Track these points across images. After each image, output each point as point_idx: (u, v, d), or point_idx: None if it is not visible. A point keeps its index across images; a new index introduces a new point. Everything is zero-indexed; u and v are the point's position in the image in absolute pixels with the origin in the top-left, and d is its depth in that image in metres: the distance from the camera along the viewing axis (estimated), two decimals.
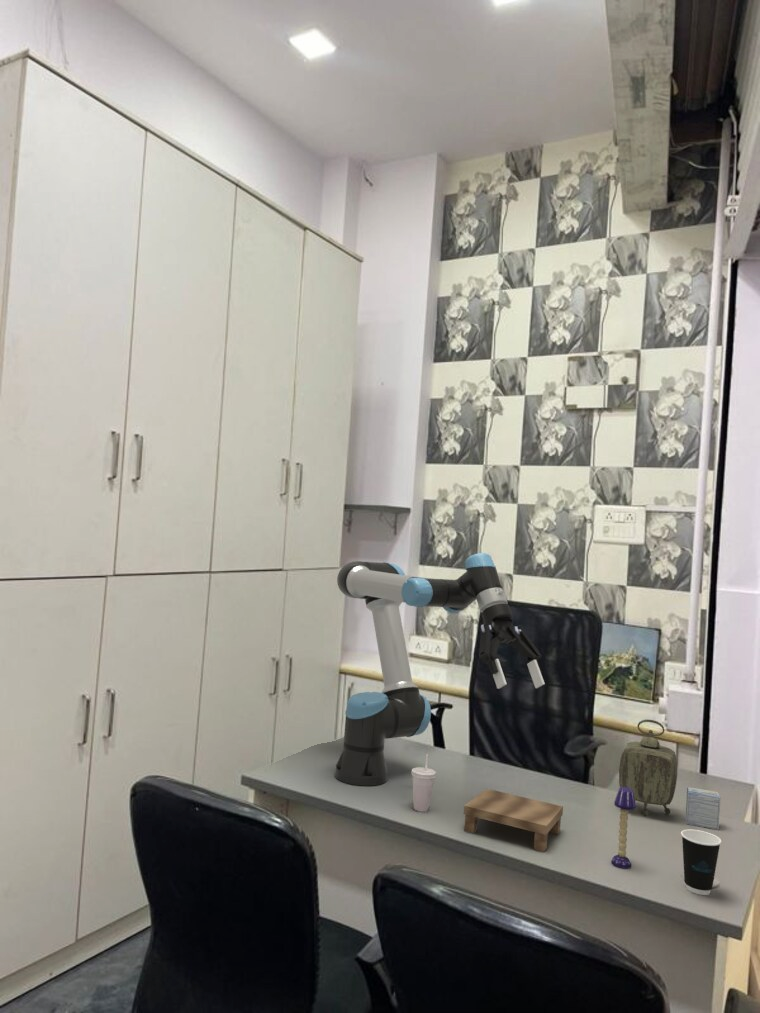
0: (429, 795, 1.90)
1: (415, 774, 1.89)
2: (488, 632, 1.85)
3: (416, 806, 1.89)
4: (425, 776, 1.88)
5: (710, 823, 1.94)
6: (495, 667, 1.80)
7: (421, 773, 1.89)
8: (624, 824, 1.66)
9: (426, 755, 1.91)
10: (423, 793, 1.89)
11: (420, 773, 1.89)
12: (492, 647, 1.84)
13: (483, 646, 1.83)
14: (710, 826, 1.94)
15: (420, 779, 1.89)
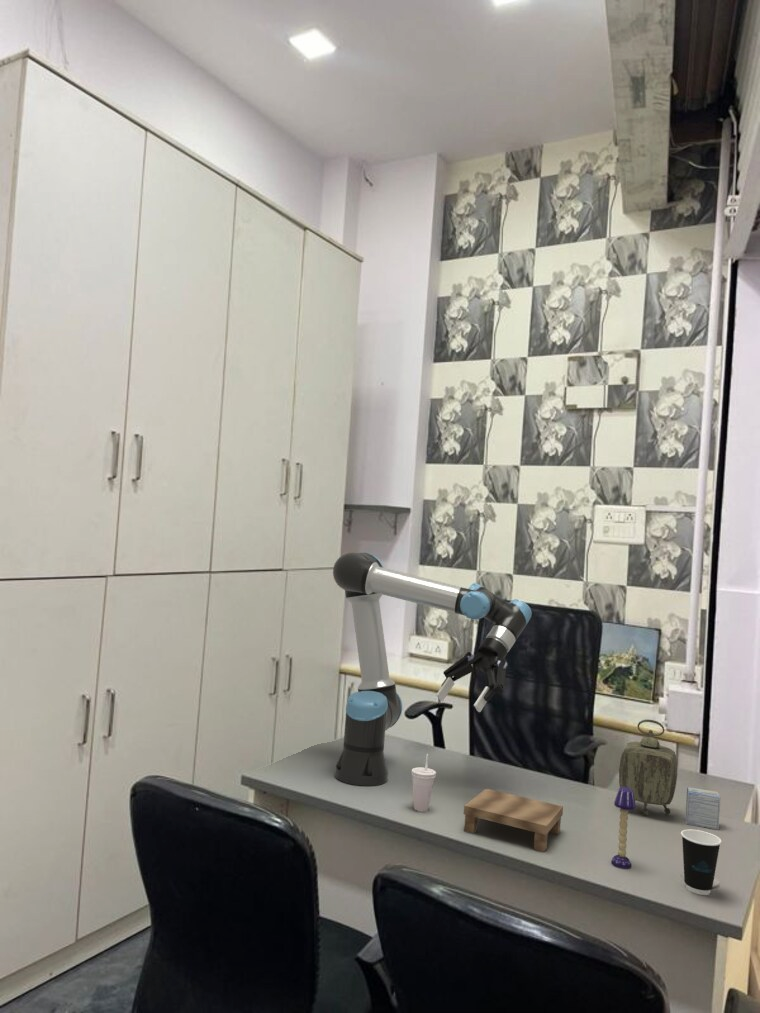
0: (429, 795, 1.90)
1: (415, 774, 1.89)
2: None
3: (416, 806, 1.89)
4: (425, 776, 1.88)
5: (710, 822, 1.94)
6: None
7: (421, 773, 1.89)
8: (624, 824, 1.66)
9: (426, 755, 1.91)
10: (423, 793, 1.89)
11: (420, 773, 1.89)
12: (494, 680, 2.01)
13: (502, 681, 1.99)
14: (710, 826, 1.94)
15: (420, 779, 1.89)
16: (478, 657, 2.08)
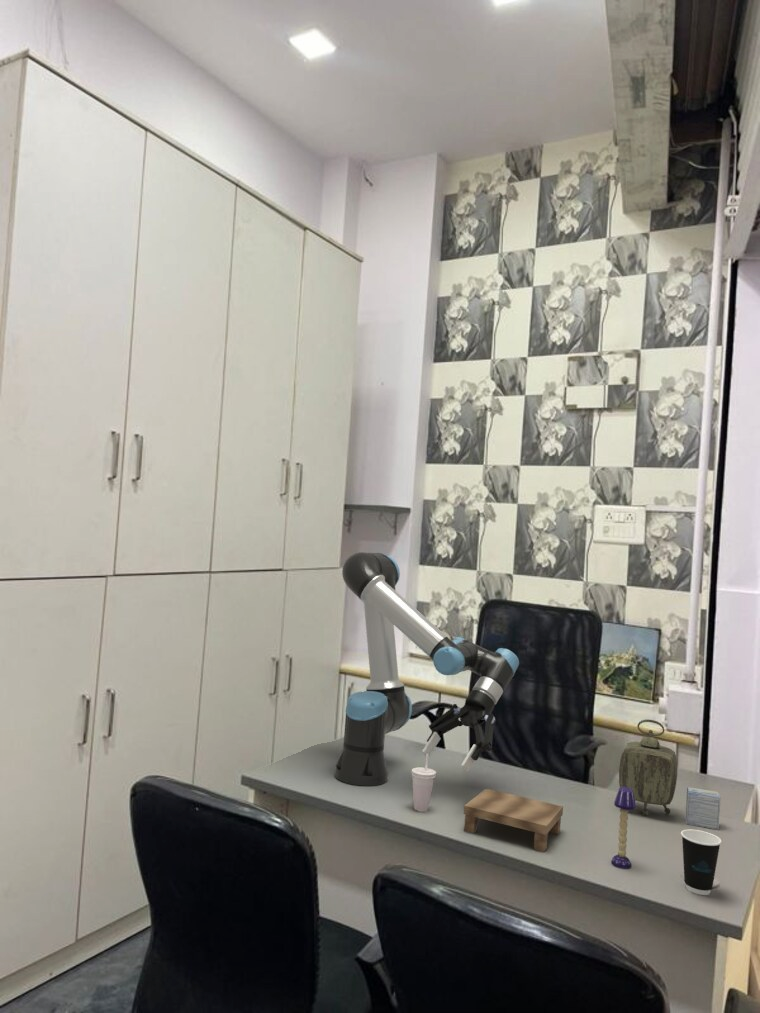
0: (429, 795, 1.90)
1: (415, 774, 1.89)
2: None
3: (416, 806, 1.89)
4: (425, 776, 1.88)
5: (710, 823, 1.94)
6: None
7: (421, 773, 1.89)
8: (624, 824, 1.66)
9: (426, 755, 1.91)
10: (423, 793, 1.89)
11: (420, 773, 1.89)
12: (482, 737, 1.95)
13: (490, 738, 1.93)
14: (710, 826, 1.94)
15: (420, 779, 1.89)
16: (465, 711, 2.02)
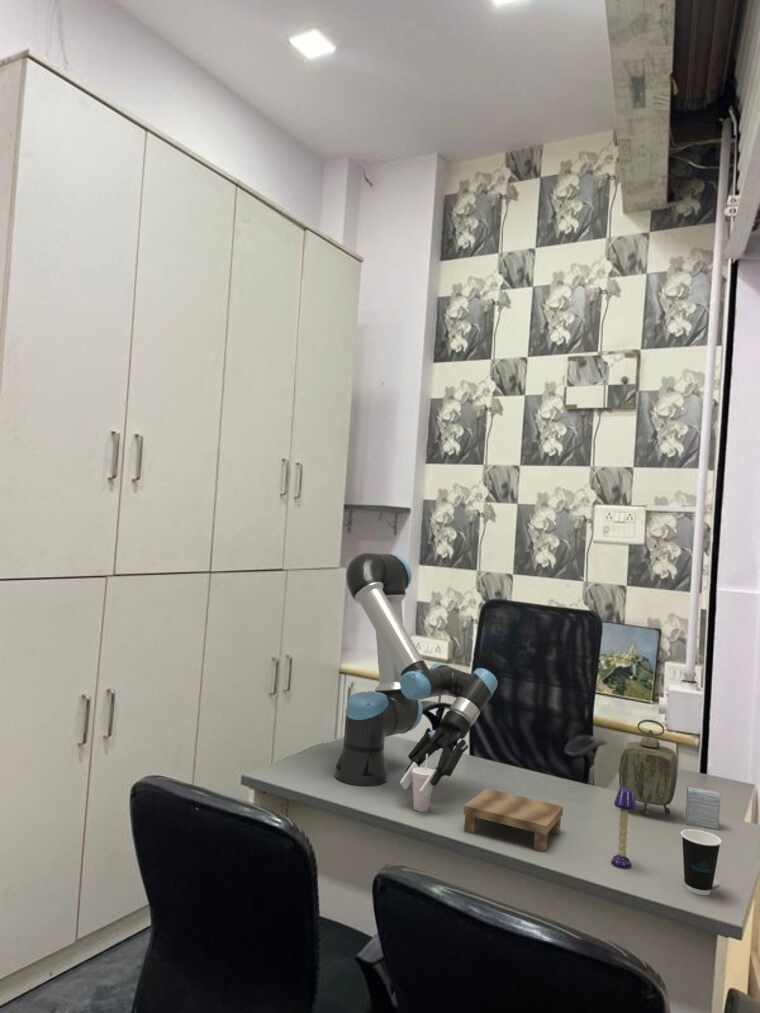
0: (429, 795, 1.90)
1: (415, 774, 1.89)
2: None
3: (416, 806, 1.89)
4: (425, 776, 1.88)
5: (710, 823, 1.94)
6: None
7: (421, 773, 1.89)
8: (624, 824, 1.66)
9: (426, 755, 1.91)
10: None
11: (420, 773, 1.89)
12: (446, 762, 1.91)
13: (453, 765, 1.89)
14: (710, 826, 1.94)
15: (420, 779, 1.89)
16: (440, 732, 1.97)
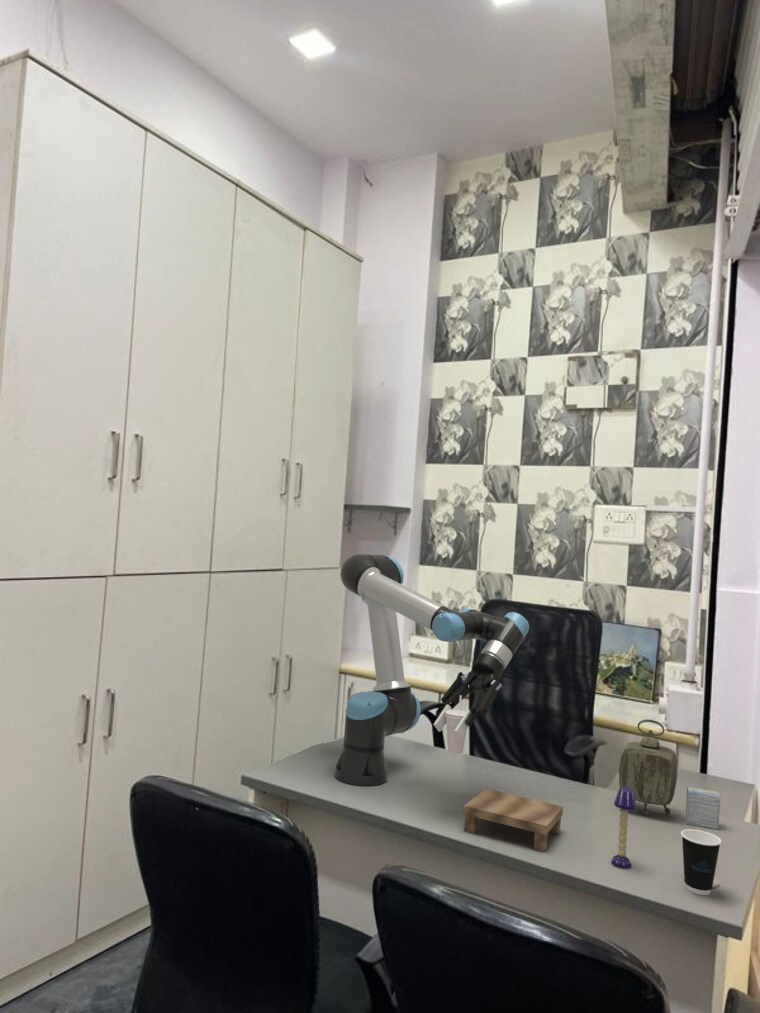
0: (464, 736, 1.86)
1: (449, 715, 1.86)
2: None
3: (450, 747, 1.86)
4: (459, 716, 1.85)
5: (710, 822, 1.94)
6: None
7: (455, 714, 1.86)
8: (624, 824, 1.66)
9: (460, 696, 1.88)
10: None
11: (454, 714, 1.86)
12: (480, 703, 1.88)
13: (488, 705, 1.86)
14: (710, 826, 1.94)
15: (454, 720, 1.85)
16: (473, 675, 1.94)
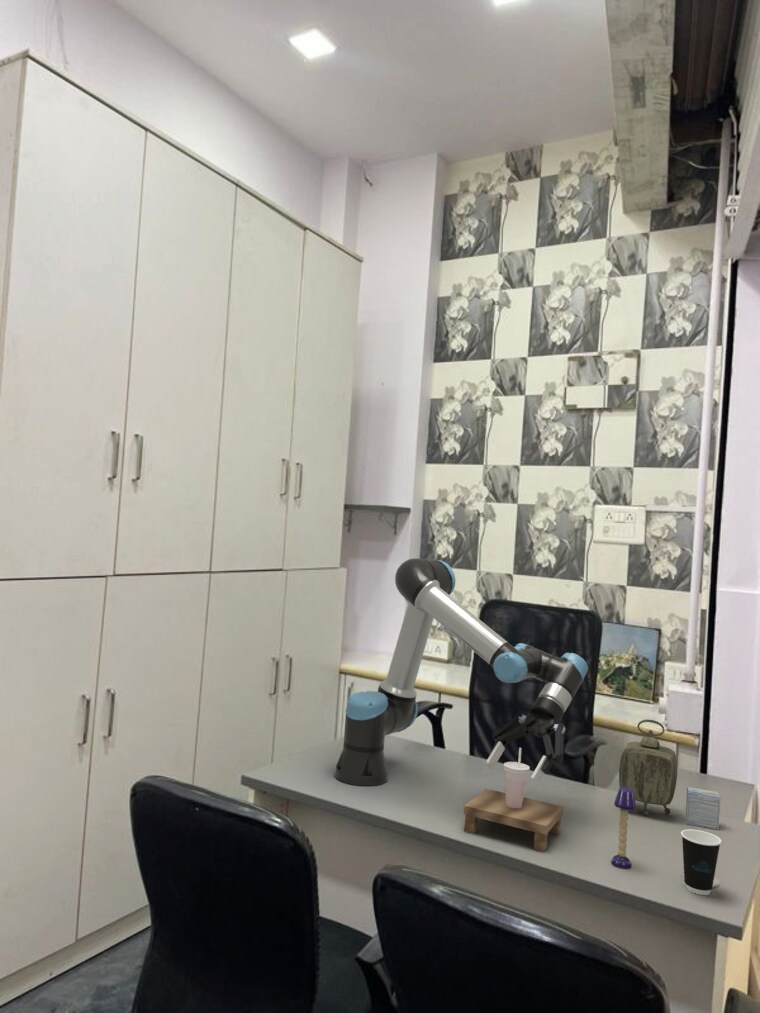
0: (523, 791, 1.80)
1: (509, 769, 1.80)
2: None
3: (509, 802, 1.80)
4: (520, 771, 1.79)
5: (710, 823, 1.94)
6: None
7: (515, 768, 1.80)
8: (624, 824, 1.66)
9: (519, 749, 1.82)
10: (517, 789, 1.79)
11: (514, 768, 1.80)
12: (551, 748, 1.81)
13: (561, 749, 1.79)
14: (710, 826, 1.94)
15: (514, 774, 1.79)
16: (532, 719, 1.88)
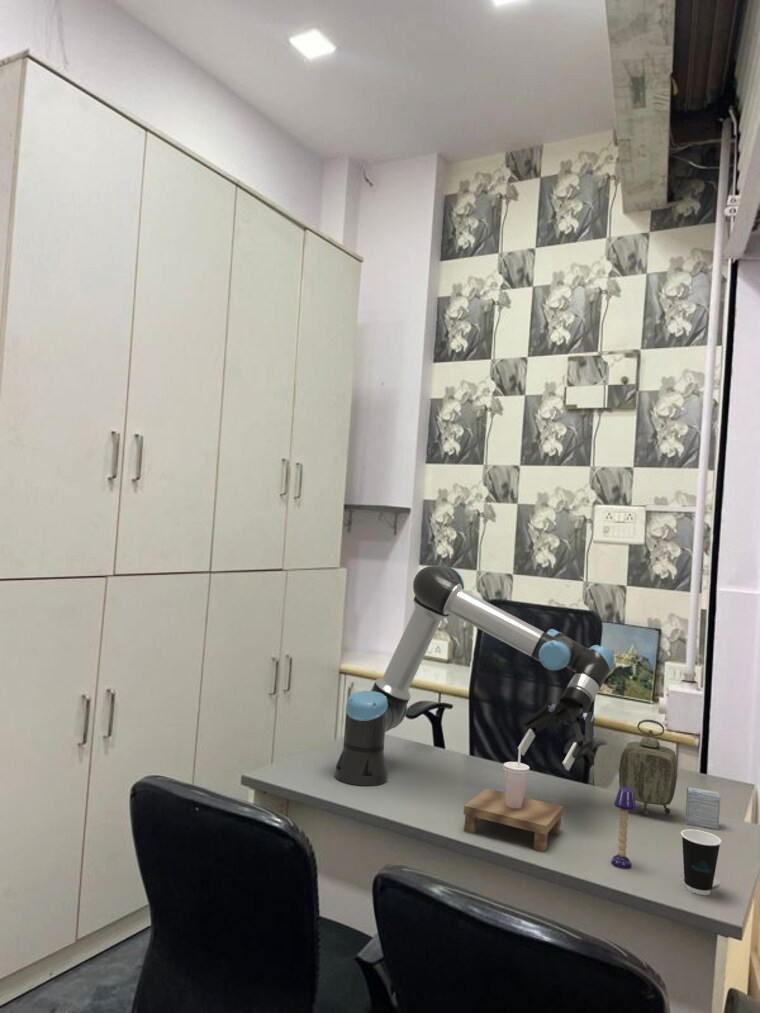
0: (523, 791, 1.80)
1: (508, 769, 1.80)
2: None
3: (509, 802, 1.80)
4: (519, 771, 1.79)
5: (710, 823, 1.94)
6: None
7: (515, 768, 1.80)
8: (624, 824, 1.66)
9: (519, 749, 1.82)
10: (517, 789, 1.79)
11: (514, 768, 1.80)
12: (581, 735, 1.90)
13: (591, 737, 1.88)
14: (710, 826, 1.94)
15: (514, 774, 1.79)
16: (561, 708, 1.96)
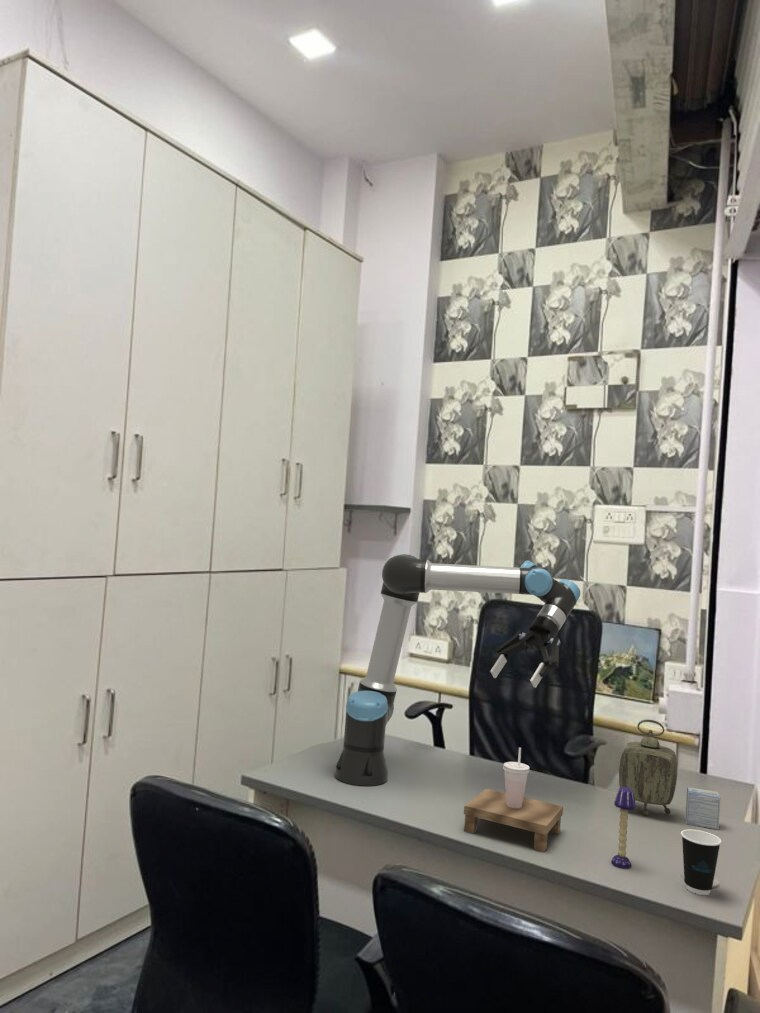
0: (523, 791, 1.80)
1: (508, 769, 1.80)
2: None
3: (509, 802, 1.80)
4: (519, 771, 1.79)
5: (710, 822, 1.94)
6: None
7: (515, 768, 1.80)
8: (624, 824, 1.66)
9: (519, 749, 1.82)
10: (517, 789, 1.79)
11: (514, 768, 1.80)
12: (548, 657, 2.06)
13: (557, 658, 2.04)
14: (710, 826, 1.94)
15: (514, 774, 1.79)
16: (530, 635, 2.13)
